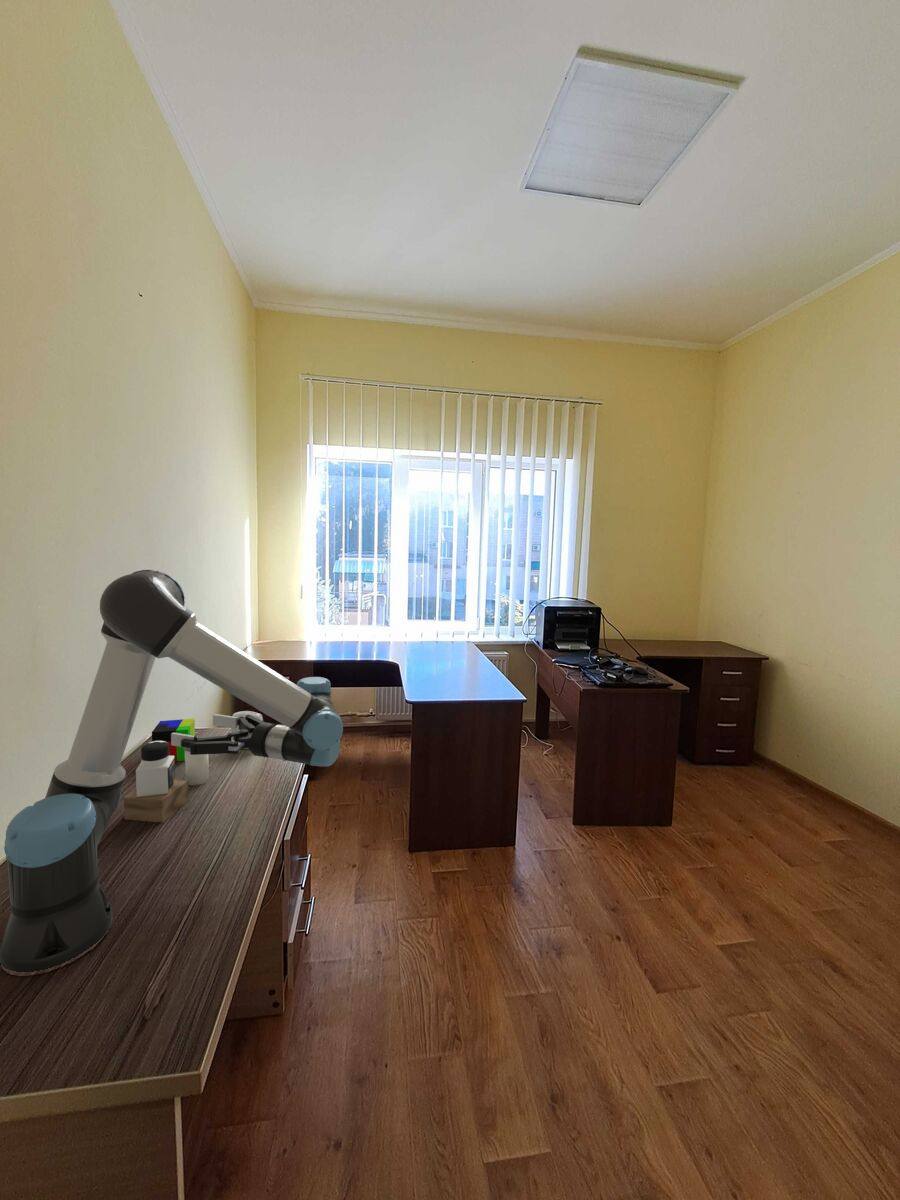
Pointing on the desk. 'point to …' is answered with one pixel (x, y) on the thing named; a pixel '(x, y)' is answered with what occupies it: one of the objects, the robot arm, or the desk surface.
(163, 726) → the puzzle toy
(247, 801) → the desk surface
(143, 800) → the walnut block
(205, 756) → the plastic jar
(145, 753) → the medicine bottle
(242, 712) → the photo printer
